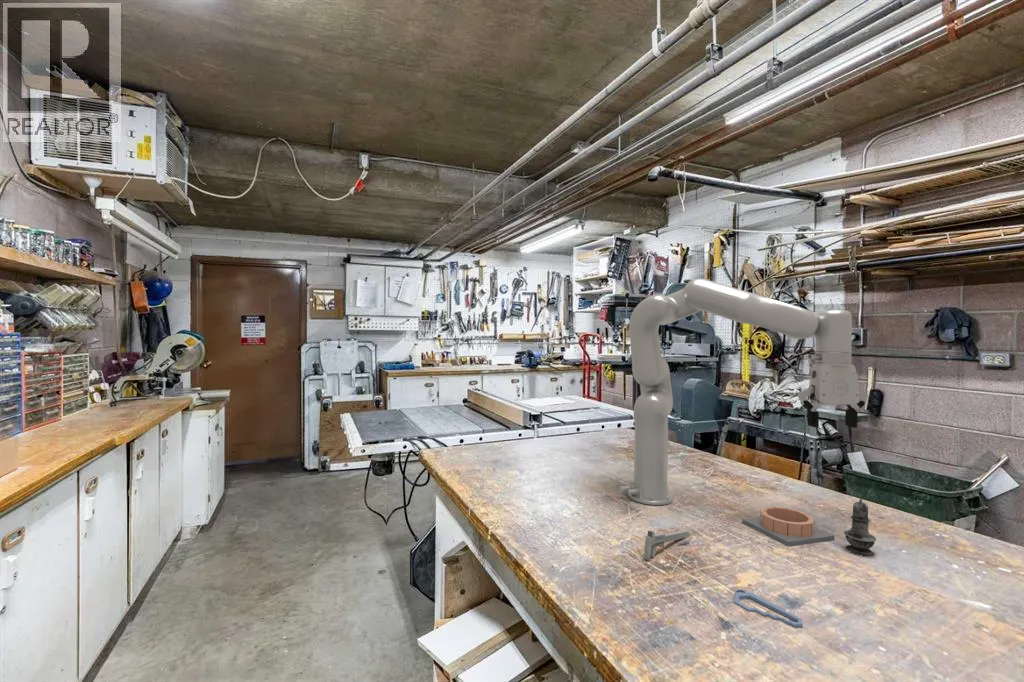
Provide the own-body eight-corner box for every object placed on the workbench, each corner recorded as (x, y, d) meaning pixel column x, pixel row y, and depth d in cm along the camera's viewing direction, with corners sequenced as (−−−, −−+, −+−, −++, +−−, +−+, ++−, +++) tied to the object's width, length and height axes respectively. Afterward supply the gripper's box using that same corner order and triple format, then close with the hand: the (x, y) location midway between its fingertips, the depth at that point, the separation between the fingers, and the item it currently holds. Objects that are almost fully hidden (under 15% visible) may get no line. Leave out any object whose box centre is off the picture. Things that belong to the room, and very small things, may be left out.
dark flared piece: (869, 547, 108) (871, 496, 108) (880, 559, 102) (881, 504, 102) (839, 543, 110) (841, 492, 110) (848, 554, 104) (850, 501, 104)
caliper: (648, 563, 99) (649, 533, 99) (643, 561, 100) (644, 532, 100) (691, 535, 114) (691, 509, 114) (686, 534, 114) (687, 508, 114)
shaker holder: (788, 546, 108) (788, 529, 108) (742, 522, 121) (742, 507, 121) (834, 539, 112) (834, 523, 112) (784, 517, 125) (785, 502, 125)
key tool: (792, 638, 76) (807, 625, 79) (791, 632, 76) (807, 620, 78) (724, 601, 86) (740, 591, 89) (724, 596, 86) (740, 587, 89)
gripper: (808, 359, 114) (807, 429, 115) (878, 360, 115) (877, 429, 115) (790, 358, 122) (789, 423, 122) (855, 358, 122) (854, 424, 122)
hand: (832, 426), depth 118 cm, fingers open, 9 cm apart
